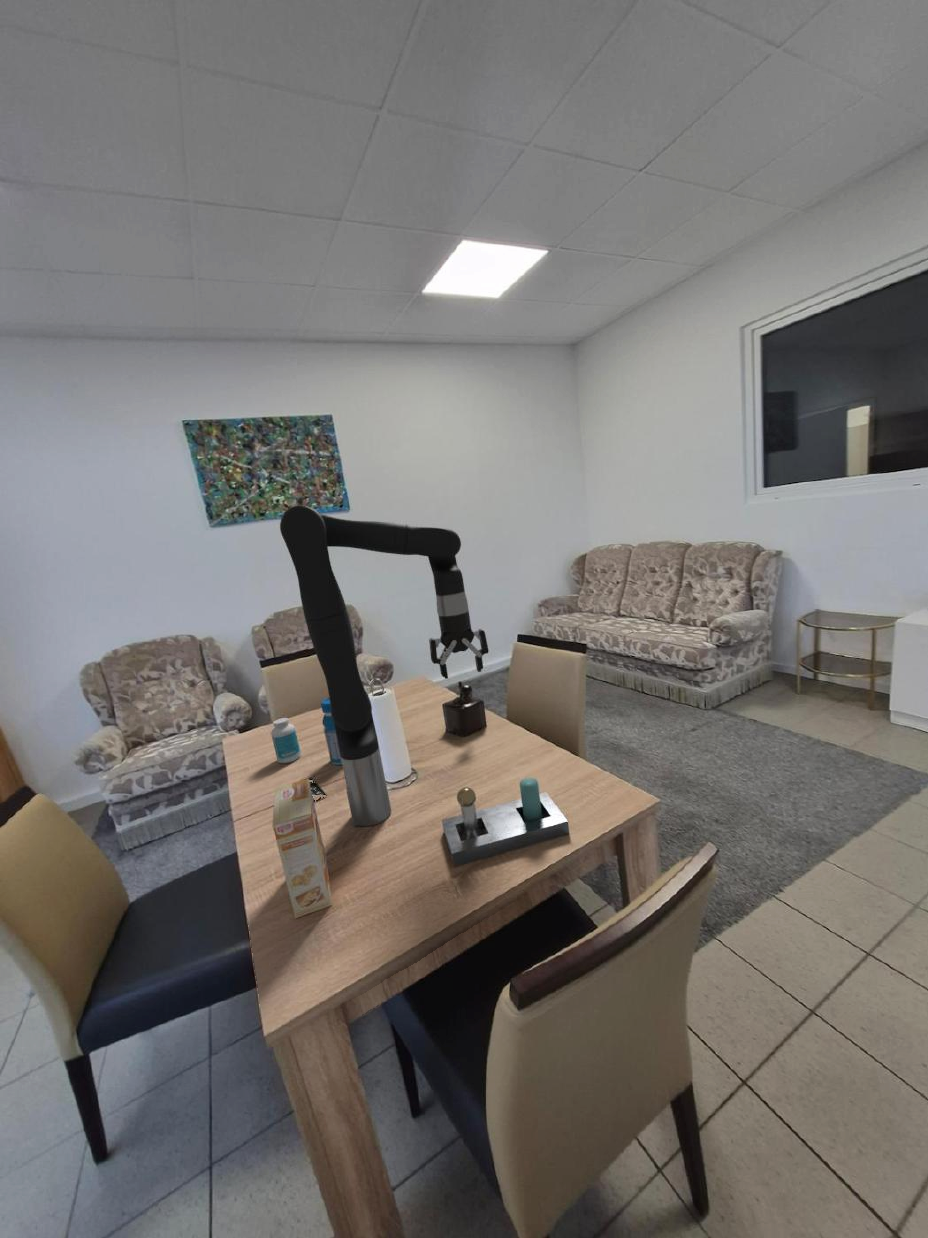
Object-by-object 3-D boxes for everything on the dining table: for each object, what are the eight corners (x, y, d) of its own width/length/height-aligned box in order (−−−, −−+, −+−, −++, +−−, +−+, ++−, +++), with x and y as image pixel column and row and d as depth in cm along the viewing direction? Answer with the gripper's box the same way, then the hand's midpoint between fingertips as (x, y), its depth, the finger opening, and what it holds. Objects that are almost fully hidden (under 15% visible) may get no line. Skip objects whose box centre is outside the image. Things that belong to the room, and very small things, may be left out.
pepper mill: (443, 730, 161) (435, 680, 158) (468, 719, 168) (461, 670, 164) (472, 742, 149) (464, 688, 146) (498, 730, 156) (490, 677, 152)
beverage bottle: (337, 768, 145) (324, 707, 141) (325, 761, 151) (313, 702, 148) (362, 757, 150) (350, 697, 147) (349, 750, 157) (337, 693, 153)
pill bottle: (306, 755, 158) (297, 717, 156) (287, 765, 152) (278, 726, 150) (291, 752, 162) (283, 714, 160) (273, 762, 156) (263, 724, 154)
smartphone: (311, 777, 142) (327, 795, 129) (311, 779, 142) (328, 798, 130) (285, 787, 138) (300, 807, 125) (286, 789, 138) (301, 810, 125)
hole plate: (454, 866, 95) (444, 811, 93) (443, 831, 107) (435, 781, 105) (569, 834, 100) (563, 780, 98) (547, 803, 112) (541, 754, 109)
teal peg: (528, 831, 103) (523, 789, 101) (522, 821, 106) (516, 780, 105) (546, 827, 103) (540, 785, 102) (539, 817, 107) (533, 776, 106)
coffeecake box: (333, 906, 90) (311, 813, 86) (293, 920, 88) (270, 826, 84) (328, 858, 104) (309, 777, 100) (294, 870, 102) (274, 787, 98)
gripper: (426, 619, 111) (437, 684, 114) (485, 608, 114) (494, 672, 117) (422, 614, 118) (432, 676, 121) (477, 604, 121) (486, 665, 124)
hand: (462, 674), depth 119 cm, fingers open, 8 cm apart
